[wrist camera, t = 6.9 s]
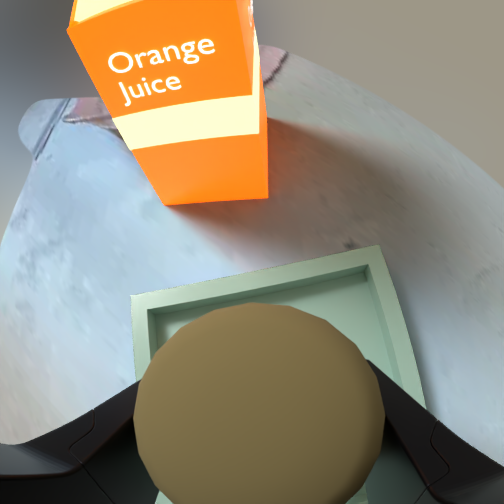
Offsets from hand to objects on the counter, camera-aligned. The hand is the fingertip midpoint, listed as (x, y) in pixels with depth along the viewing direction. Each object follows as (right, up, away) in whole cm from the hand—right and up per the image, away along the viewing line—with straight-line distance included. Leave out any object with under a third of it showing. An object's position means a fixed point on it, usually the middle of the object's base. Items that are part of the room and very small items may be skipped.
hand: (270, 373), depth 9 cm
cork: (+1, -4, +5) cm, 7 cm away
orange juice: (-3, +11, +15) cm, 19 cm away
